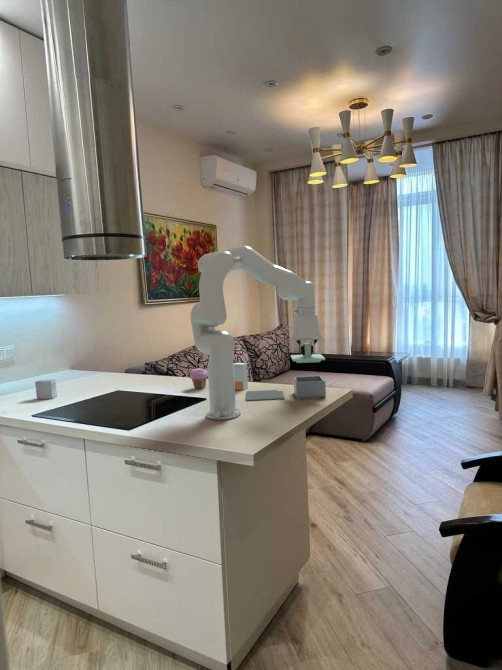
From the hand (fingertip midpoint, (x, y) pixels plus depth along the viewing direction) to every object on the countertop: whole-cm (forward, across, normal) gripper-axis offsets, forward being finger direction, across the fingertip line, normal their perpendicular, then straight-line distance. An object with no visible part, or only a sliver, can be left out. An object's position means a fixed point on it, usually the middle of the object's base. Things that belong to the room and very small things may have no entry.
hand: (307, 354), depth 186 cm
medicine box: (+19, -122, +20) cm, 125 cm away
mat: (+18, -18, +3) cm, 26 cm away
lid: (+2, 0, 0) cm, 2 cm away
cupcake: (+18, -50, +25) cm, 58 cm away
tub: (+17, 0, 0) cm, 17 cm away
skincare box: (+18, -30, +20) cm, 40 cm away
